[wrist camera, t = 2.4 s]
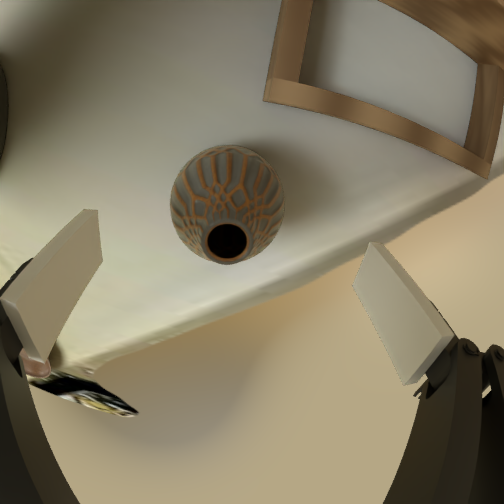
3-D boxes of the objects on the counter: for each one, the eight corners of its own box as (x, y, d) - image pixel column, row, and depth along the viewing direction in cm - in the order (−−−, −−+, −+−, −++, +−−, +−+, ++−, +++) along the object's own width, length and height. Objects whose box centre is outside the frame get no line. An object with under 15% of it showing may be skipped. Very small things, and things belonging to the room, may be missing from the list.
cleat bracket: (240, 97, 17) (253, 92, 8) (270, -47, 10) (300, -120, 2) (474, 173, 20) (544, 216, 12) (494, 66, 14) (566, 81, 5)
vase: (280, 217, 22) (308, 287, 14) (194, 234, 22) (179, 311, 14) (266, 130, 18) (294, 152, 10) (170, 151, 18) (130, 189, 11)
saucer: (-28, 280, 22) (-37, 291, 20) (45, 312, 25) (36, 328, 23) (-1, 346, 29) (-7, 357, 27) (65, 375, 32) (60, 389, 30)
